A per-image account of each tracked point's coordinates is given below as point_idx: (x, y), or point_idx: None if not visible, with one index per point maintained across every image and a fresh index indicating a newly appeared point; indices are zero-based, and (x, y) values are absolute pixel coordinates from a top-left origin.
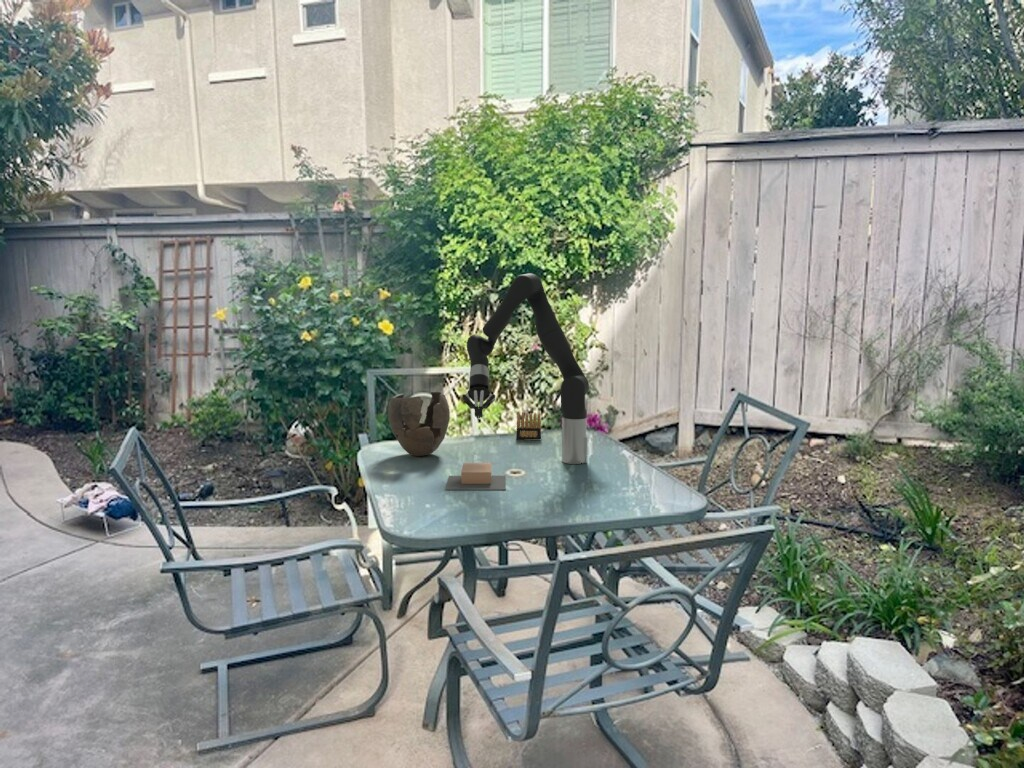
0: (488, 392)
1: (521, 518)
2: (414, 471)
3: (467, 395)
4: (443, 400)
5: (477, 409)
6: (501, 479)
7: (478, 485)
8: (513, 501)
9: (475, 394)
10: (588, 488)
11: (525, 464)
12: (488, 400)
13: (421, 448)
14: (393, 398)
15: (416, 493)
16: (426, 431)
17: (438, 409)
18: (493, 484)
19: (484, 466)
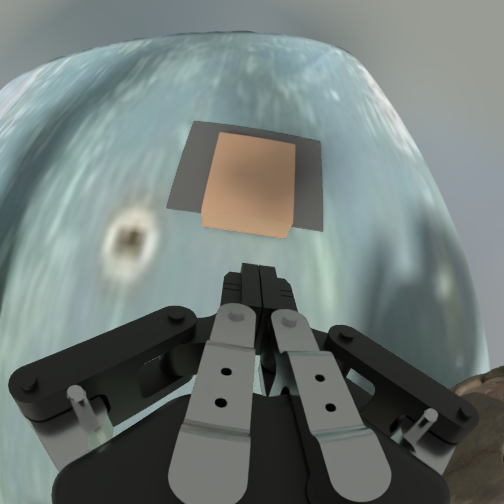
0: (80, 471)
1: (203, 46)
2: (407, 290)
3: (427, 452)
4: (489, 498)
5: (270, 292)
6: (185, 178)
7: None
8: (195, 82)
9: (341, 431)
10: (48, 128)
11: (81, 321)
12: (127, 345)
13: None
14: None
15: (367, 142)
16: (453, 387)
17: (488, 424)
18: (213, 148)
19: (229, 177)
